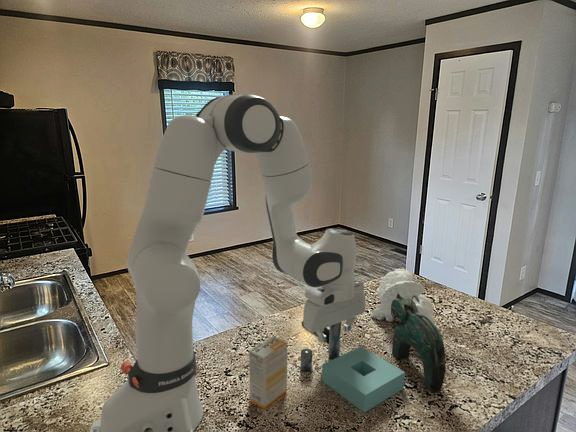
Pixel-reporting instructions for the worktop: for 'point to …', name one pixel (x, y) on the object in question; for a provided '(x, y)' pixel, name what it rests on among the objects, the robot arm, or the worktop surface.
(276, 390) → the supplement box
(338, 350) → the long pin
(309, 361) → the short pin
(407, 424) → the worktop surface
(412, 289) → the white lumpy sculpture
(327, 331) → the electric trimmer
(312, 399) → the worktop surface
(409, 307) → the ceramic cat
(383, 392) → the hole block
